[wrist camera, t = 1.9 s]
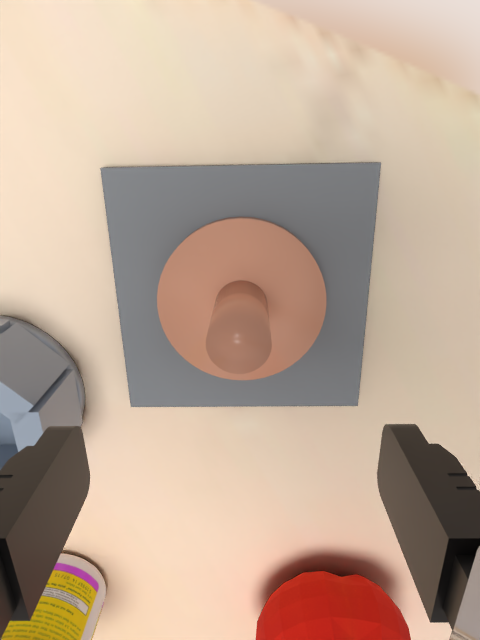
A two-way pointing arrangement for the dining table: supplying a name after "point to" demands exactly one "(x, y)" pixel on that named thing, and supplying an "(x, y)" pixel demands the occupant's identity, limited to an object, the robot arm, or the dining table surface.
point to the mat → (247, 201)
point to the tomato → (330, 610)
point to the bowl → (34, 386)
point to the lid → (241, 298)
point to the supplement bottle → (64, 604)
